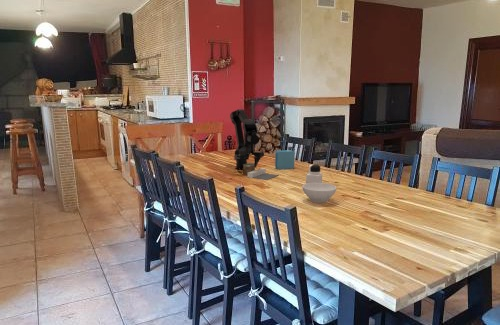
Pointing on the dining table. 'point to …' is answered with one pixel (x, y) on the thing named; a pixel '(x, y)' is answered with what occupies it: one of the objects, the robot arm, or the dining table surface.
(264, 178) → the mat
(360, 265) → the dining table surface
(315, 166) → the medicine bottle
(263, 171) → the rail
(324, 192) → the bowl
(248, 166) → the block
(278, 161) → the data package
